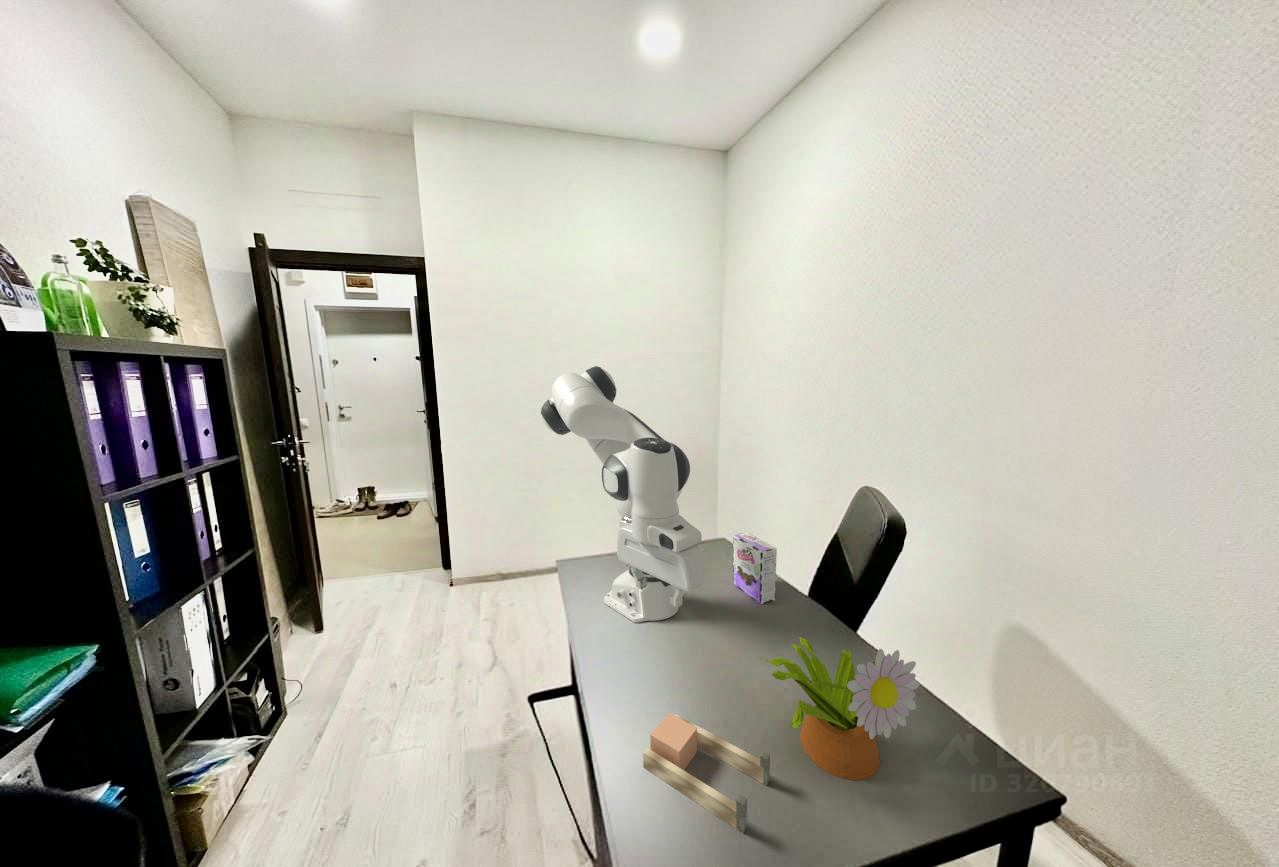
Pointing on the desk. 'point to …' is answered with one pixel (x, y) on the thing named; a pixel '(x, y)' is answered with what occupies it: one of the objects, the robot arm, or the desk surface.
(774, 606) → the desk surface
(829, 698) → the decorative plant
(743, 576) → the candy box
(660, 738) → the block
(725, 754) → the chute
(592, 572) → the desk surface
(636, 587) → the robot arm
